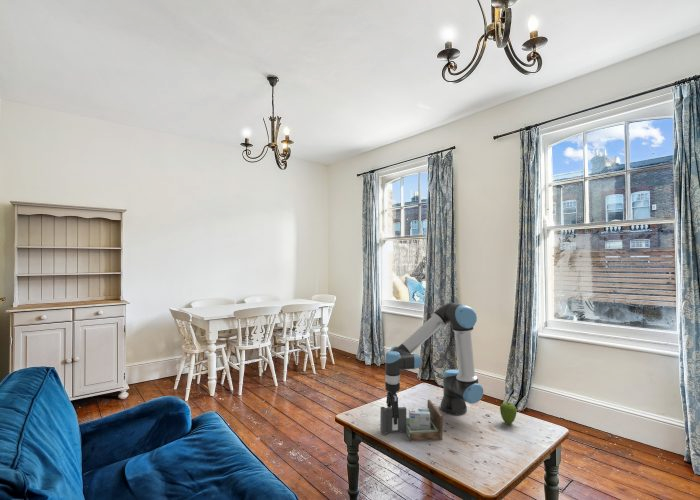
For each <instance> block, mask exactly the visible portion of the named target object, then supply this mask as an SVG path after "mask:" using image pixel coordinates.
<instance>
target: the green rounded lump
mask: <svg viewBox="0 0 700 500" xmlns="http://www.w3.org/2000/svg"><path fill="white" fill-rule="evenodd" d="M517 409H518V408H517V407H516V406H515V404H513V403H511V402H508V401H507V402H502V403H501V404H500V407H499V410H500V415H501V418H502V420H503V422H504V423H505V424H506V423H507V424H506V425H511V424H513V422H515V419H516V416H517V413H518V411H517Z"/></svg>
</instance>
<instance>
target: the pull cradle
mask: <svg viewBox="0 0 700 500" xmlns="http://www.w3.org/2000/svg"><path fill="white" fill-rule="evenodd" d="M398 409H399V418H398V430H392V416H393V413H392V408H387V407H385V406H380V414H379V415H380V420H379V421H380V424H379V425H380V427H379V428H380V432H381V434H382V436H383V435H387V434H390V433H391V434H392V433H406V434H407V436H408V438H409V439H410V434H413V433H433V432H438V429H437V428H436V427H435V425H434V424H433V422H432V421H431V420H430V430H421V431H411V430H410V428H409V416H408V417H407V407H406V406H402V407H400V406H398Z"/></svg>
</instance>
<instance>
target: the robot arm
mask: <svg viewBox="0 0 700 500" xmlns="http://www.w3.org/2000/svg"><path fill="white" fill-rule="evenodd" d="M477 321H478V318H477V313H476V311H475V310H474V308H473V307H470V306H468V305H466V304H460V303H455V302H448V303H444V304H443V305H442V306H440V307H438V309H436V310H435V311H434V312H433V313H432V314H431V317H430V318H428V319H427V320H426V321H425V322H424V323H423V324H422V325H421V326H419V327H418V328H417V329H416V330H415V331H414V332H413V333H412V334H411V335H410V336H409V337H407V338H406V339H405V340H404V341H403V342H402V343H401V344H400V345H398V346H393V347H391V349H390V351H386V352H385V356H384V357H385V359H384V362H385V375H384V379H385V384H384V389H385V391H387V392H386V406H387V407H386V408H392V413H393V416H392V430H398V418H399V409H398V407H399V396H398V394H397V392H399V391H400V388H401V383H400V382H401V371H405V370H417V369H419V368H421V366H422V358H421V356H420V354H418V353H413V352H415V351H416V349H418V348H419V347H420V346H421V345H422V344H423V343H425V342H426V341H427V340H428V339H429V338H430V337H432V336H433V334H435V333H436V332H437V331H438V330H439V329H440V328H442V327H445V326H446V325H448V324H451V330H452V331H453V332H454V335H455V336H454V337H455V348H456V359H457V369H446V370H445V371H443V378H442V379H443V395H442V398H441V401H440V404H439V405H440V407H439V408H440V410H441V411H442V412H444V413H445V414H449V415H452V416H460V415H465V414H466V413H467V412H468V411H467V410H468V409H467V408H468V406H467V404H466V403H468V404H471V405H474V404H475V405H476V404H477V403H479V402H480V400H481V399H483V396H484V387H483V386H482V385H481V384H480V383H479V375H477V374H476V372H475V363H474V351H473V342H472V341H473V340H472V332H473V331H474V327H475V325H476V323H477Z"/></svg>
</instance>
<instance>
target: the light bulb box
mask: <svg viewBox="0 0 700 500" xmlns="http://www.w3.org/2000/svg"><path fill="white" fill-rule="evenodd" d="M408 409H409V410H408V417H409V424H408V426H409V428H410V430H411V431H421V430H431V428H430V412H429V409H428V408H426V407H425V408H424V407H423V408H421V407H419V408H417V407H409V408H408Z"/></svg>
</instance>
